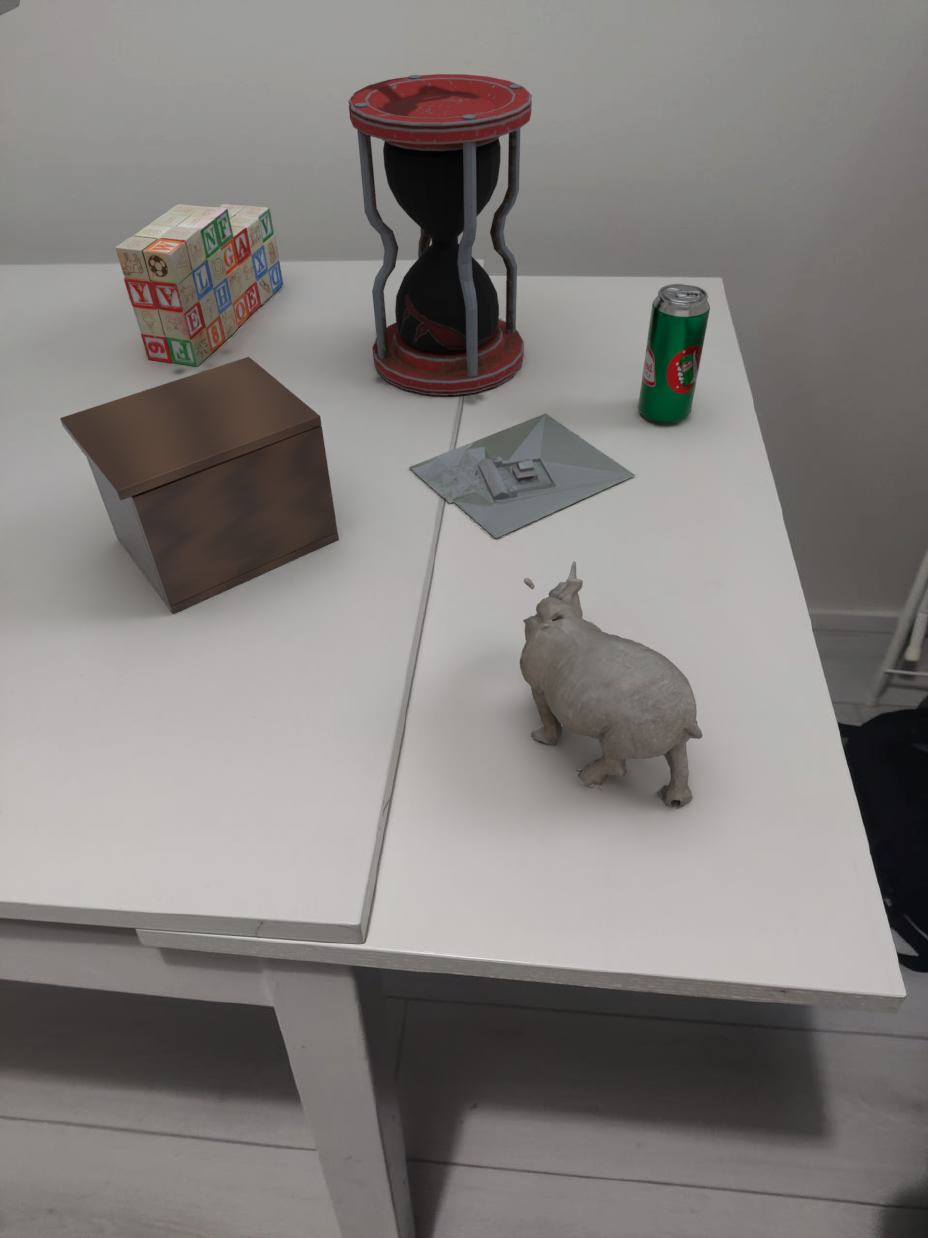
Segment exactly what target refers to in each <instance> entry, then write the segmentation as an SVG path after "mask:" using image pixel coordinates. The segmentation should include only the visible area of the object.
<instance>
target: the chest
mask: <svg viewBox="0 0 928 1238" xmlns="http://www.w3.org/2000/svg"><path fill="white" fill-rule="evenodd" d="M324 438H325V437H324V431H323V426H322V424H321V425H320V426H318V427H315V428H312V429H310V430H307V431H304V432H302V433H299V434H296V435H294V436H291V437H288V438H286V439H283V440H280V441H278V442H275V443H272V444H270V445H267V446H264V447H262V448H259V449H256V450H254V451H251V452H249V453H246V454H243V455H241V456H238V457H235V458H233V459H230V460H227V461H225V462H222V463H219V464H217V465H214V466H211V467H209V468H206V469H203V470H201V471H198V472H195V473H193V474H190V475H187V476H185V477H182V478H179V479H177V480H174V481H171V482H169V483H166V484H164V485H161V486H158V487H156V488H153V489H150V490H148V491H145V492H142V493H140V494H137V495H134V496H132V497H129V498H126V499H124V500H120V499H119V498H118V497H117V495H116V494H115V493H114V492H113V490H112V489H111V488H110V486H109V485H108V484H107V483H106V481H105V480H104V479H103V477H102V476H101V475H100V474H99V472H98V471H97V470H96V468H95V467H94V466H93V465H92V463H91V462H90V461H89V459H88V458H87V457H86V460H87V463H88V466H89V467H90V471H91V473H92V476H93V478H94V481H95V484H96V487H97V489H98V492H99V494H100V497H101V500H102V502H103V505H104V507H105V511H106V513H107V515H108V518H109V520H110V524H111V526H112V529H113V531H114V534H115V536H116V539H117V540H118V541H119V543H120V544H121V545H122V547H123V548H124V550H125V551H126V553H127V554H128V556H129V557H130V558H131V559H132V561H133V562H134V563H135V565H136V566H137V568H138V569H139V570H140V572H142V574H143V576H144V577H145V578H146V580H147V581H148V583H149V584H150V585H151V586H152V588H153V589H154V590H155V592H156V593H157V595H158V596H159V597H160V599H161V600H162V601H163V603H164V604H165V605H166V607H167V608H168V609H169V611H170V612H171V614H172V615H174V614H176V613H179V612H181V611H183V610H185V609H188V608H189V607H192V606H194V605H197V604H199V603H201V602H204V601H205V600H207V599H210V598H212V597H214V596H216V595H219V594H222V593H223V592H225V591H228V590H230V589H232V588H234V587H237V586H239V585H241V584H243V583H246V582H247V581H250V580H252V579H254V578H256V577H258V576H261V575H263V574H265V573H268V572H269V571H272V570H274V569H276V568H279V567H281V566H283V565H285V564H288V563H289V562H292V561H294V560H296V559H298V558H301V557H303V556H306V555H307V554H309V553H312V552H314V551H316V550H319V549H320V548H322V547H326V546H327V545H330V544H332V543H334V542H337V541H338V540H339V532H338V525H337V519H336V512H335V505H334V500H333V493H332V492H333V491H332V486H331V478H330V472H329V465H328V459H327V453H326V452H327V451H326V446H325V445H326V444H325V439H324Z"/></svg>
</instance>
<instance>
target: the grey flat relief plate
mask: <svg viewBox="0 0 928 1238" xmlns="http://www.w3.org/2000/svg"><path fill="white" fill-rule="evenodd" d="M408 469H410V470H411V471H412V472H413V473H415V474H416V475H417V476H418V477H419V478H420V479H421V480H423V482H424V483H426V484H427V485H428V486H429V487H430V488H432V489H433V490H434V491H435V492H436V493H437V494H438V495H439V496H440V497H442V498H444V499H445V500H446V501H447V503H449V504H452V503H455V504H456V505H457V506H458V507H459V508H461V509H462V510H463V511H464V512H465V513H466V514H467V515H468V516H470V517H471V518H472V519H473V520H474V521H475V522H476V523H478V524H479V525H480V526H481V527H482V528H483V529H485V531H487V532H488V533H489V534H490V535H491V536H492V537H494V538H495V539H498V538H500V537H502V536H503V537H504V536H505V535H507V534H509V533H511V532H513V531H516V530H518V529H521V528H522V527H524V526H527V525H529V524H532V523H533V522H536V521H538V520H540V519H542V518H544V517H547V516H548V515H551V514H553V513H555V512H558V511H560V510H562V509H564V508H567V507H569V506H571V505H573V504H575V503H577V502H580V501H582V500H584V499H586V498H589V497H591V496H593V495H595V494H597V493H599V492H602V491H605V490H606V489H608V488H610V487H613V486H615V485H617V484H620V483H622V482H624V481H627V480H628V479H630V478H633V477H635V476H636V474H635V473H633V472H631V471H630V470H629V469H627V468H626V467H624V466H623V465H621V464H620V463H619V462H617V461H616V460H614V459H613V458H611V457H610V456H608V455H607V454H606V453H604V452H603V451H601V450H600V449H598V448H597V447H595V446H594V445H592V444H591V443H589V442H588V441H587V440H586V439H583V438H582V437H581V436H580V435H578V434H577V433H575V432H574V431H572V430H570V428H568V427H566V426H565V425H564V424H562V423H561V422H559V421H557V419H554V418H553V417H552V416H550V414H547V413H544V414H541V415H538V416H535V417H532V418H530V419H528V420H525V421H524V422H520V423H518V424H515V425H512V426H510V427H507V428H505V429H503V430H500V431H497V432H494V433H492V434H489V435H487V436H485V437H482V438H480V439H477V440H474V441H472V442H469V443H466V444H465V445H462V446H459V447H457V448H455V449H452V450H449V451H447V452H444V453H442V454H439V455H437V456H434V457H431V458H429V459H425V460H424V461H422V462H418V463H416V464H413V465H410V466H408ZM423 615H425V614H424V613H423Z"/></svg>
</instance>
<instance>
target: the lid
mask: <svg viewBox="0 0 928 1238" xmlns="http://www.w3.org/2000/svg"><path fill="white" fill-rule="evenodd" d="M59 420H60V423H61V426H62V427H63V429H64V430H65V431H66V433H67V434H68V435H69V436H70V438H71V439H72V440H73V442H74V443H75V444H76V445H77V447H78V448H79V449H80V450H81V452H82V453H83V455H84V456H85V457H86V459H87V458H88V459H89V461H90V462H91V463H92V465H93V466H94V467H95V468H96V470H97V471H98V472H99V474H100V475H101V476H102V477H103V479H104V480H105V481H106V483H107V484H108V485H109V486H110V488H111V489H112V490H113V492H114V493H115V494H116V495H117V497H118V498H119V499H120V500H124V499H126V498H129V497H132V496H134V495H137V494H140V493H142V492H145V491H148V490H150V489H153V488H156V487H158V486H161V485H164V484H166V483H169V482H171V481H174V480H177V479H179V478H182V477H185V476H187V475H190V474H193V473H195V472H198V471H201V470H203V469H206V468H209V467H211V466H214V465H217V464H219V463H222V462H225V461H227V460H230V459H233V458H235V457H238V456H241V455H243V454H246V453H249V452H251V451H254V450H256V449H259V448H262V447H264V446H267V445H270V444H272V443H275V442H278V441H280V440H283V439H286V438H288V437H291V436H294V435H296V434H299V433H302V432H304V431H307V430H310V429H312V428H315V427H318V426H320V425H321V426H322V418H321V415H320V414H318V412H316V411H315V410H314V409H313V408H311V407H310V406H309V405H308V404H307V403H305V401H303V400H301V398H299V397H298V396H297V395H296V394H295V393H294V392H292V391H291V390H289V388H287V387H286V386H285V385H284V384H283V383H282V382H280V381H279V380H278V379H276V377H274V376H273V375H272V374H270V373H269V372H268V371H266V369H264V368H263V367H262V365H260V364H259V363H257V362H256V361H254V359H252V358H251V357H250V356H247V357H244V358H240V359H237V360H234V361H231V362H228V363H225V364H221V365H219V366H215V367H213V368H210V369H209V368H208V369H206V370H204V371H200V372H197V373H193V374H191V375H188V376H185V377H182V378H179V379H176V380H172V381H170V382H166V383H163V384H161V385H156V386H154V387H151V388H148V389H145V390H142V391H139V392H136V393H132V394H130V395H127V396H123V397H120V398H118V399H115V400H111V401H108V402H105V403H101V404H99V405H96V406H92V407H90V408H87V409H83V410H81V411H77V412H74V413H71V414H68V415H65V416H62V417H60V418H59Z"/></svg>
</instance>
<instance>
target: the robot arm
mask: <svg viewBox="0 0 928 1238" xmlns="http://www.w3.org/2000/svg"><path fill="white" fill-rule="evenodd" d="M20 3H21V0H0V16H2V15H4V14H6V13H9V12H11V11H13V10H15V9H17V8H19V6H20Z"/></svg>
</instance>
